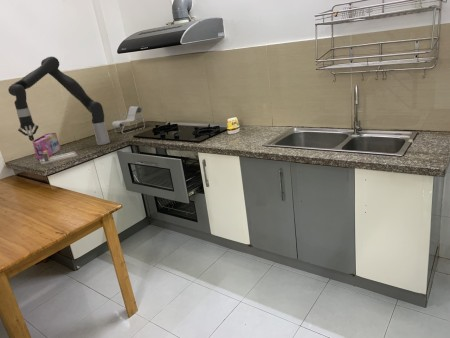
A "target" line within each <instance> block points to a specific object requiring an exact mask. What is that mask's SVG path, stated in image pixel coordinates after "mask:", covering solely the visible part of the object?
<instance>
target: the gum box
mask: <svg viewBox="0 0 450 338" xmlns="http://www.w3.org/2000/svg"><path fill="white" fill-rule="evenodd" d="M31 142H32V147H33V148H34V153H35V156H36V159H38V160H40V159H44V157H43V153H44V152H43V151H46V150H47V152H48V155H49V157H52V155H53V156H54V154H56V153H57V152H59V151H61V146H60V142H59V139H58V136H57V133H56V132H53V133H50V132H49V133H46V134H44V135H42V136H40V137H38V138H36V139H34V140H33V141H31Z"/></svg>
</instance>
